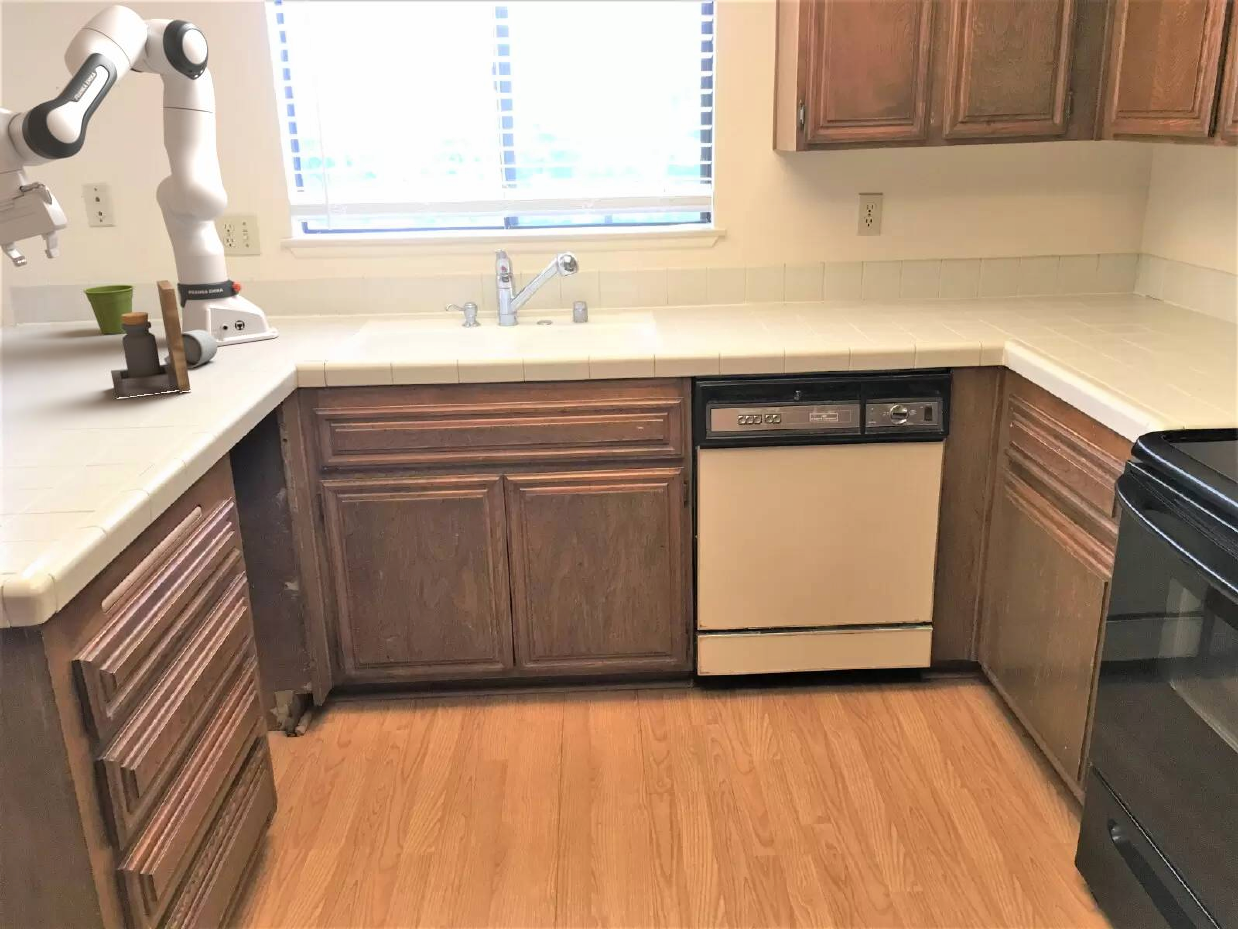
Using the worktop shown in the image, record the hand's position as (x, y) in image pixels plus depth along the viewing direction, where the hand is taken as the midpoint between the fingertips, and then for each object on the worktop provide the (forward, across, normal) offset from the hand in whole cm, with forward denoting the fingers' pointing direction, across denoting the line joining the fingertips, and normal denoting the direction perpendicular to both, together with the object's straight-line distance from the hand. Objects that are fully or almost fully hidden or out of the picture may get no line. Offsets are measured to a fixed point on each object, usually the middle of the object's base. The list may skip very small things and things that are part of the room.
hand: (37, 261), depth 196 cm
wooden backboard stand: (+28, -16, +2) cm, 32 cm away
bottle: (+28, -16, +2) cm, 33 cm away
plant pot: (+23, +39, -45) cm, 64 cm away
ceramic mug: (+29, -8, -19) cm, 35 cm away
